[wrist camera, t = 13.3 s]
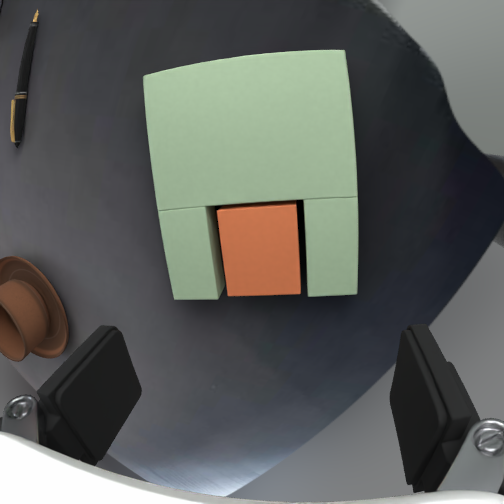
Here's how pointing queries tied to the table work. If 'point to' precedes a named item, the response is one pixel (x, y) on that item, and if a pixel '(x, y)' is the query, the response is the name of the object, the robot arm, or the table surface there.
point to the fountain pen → (22, 86)
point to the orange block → (260, 248)
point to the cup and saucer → (29, 312)
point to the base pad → (254, 160)
